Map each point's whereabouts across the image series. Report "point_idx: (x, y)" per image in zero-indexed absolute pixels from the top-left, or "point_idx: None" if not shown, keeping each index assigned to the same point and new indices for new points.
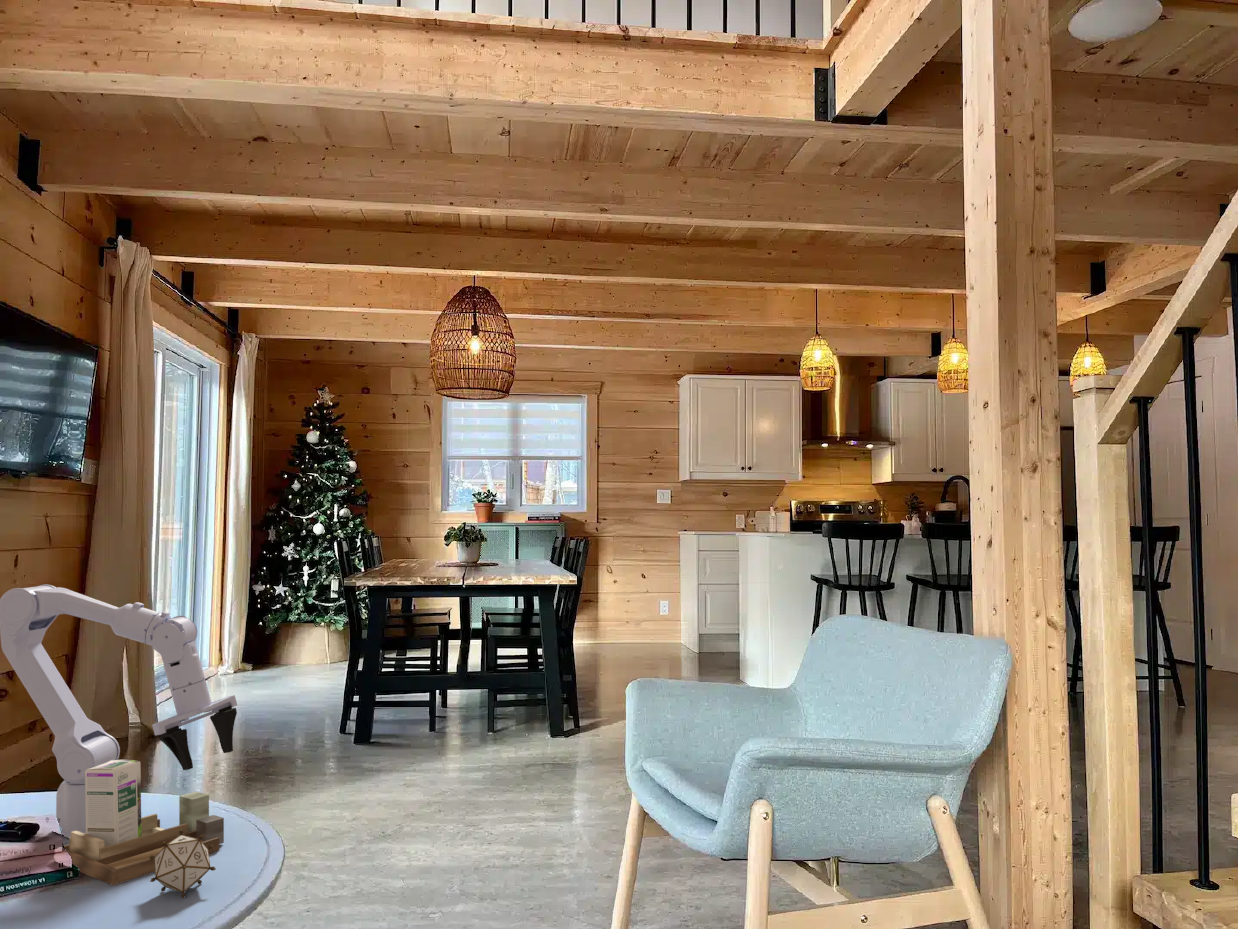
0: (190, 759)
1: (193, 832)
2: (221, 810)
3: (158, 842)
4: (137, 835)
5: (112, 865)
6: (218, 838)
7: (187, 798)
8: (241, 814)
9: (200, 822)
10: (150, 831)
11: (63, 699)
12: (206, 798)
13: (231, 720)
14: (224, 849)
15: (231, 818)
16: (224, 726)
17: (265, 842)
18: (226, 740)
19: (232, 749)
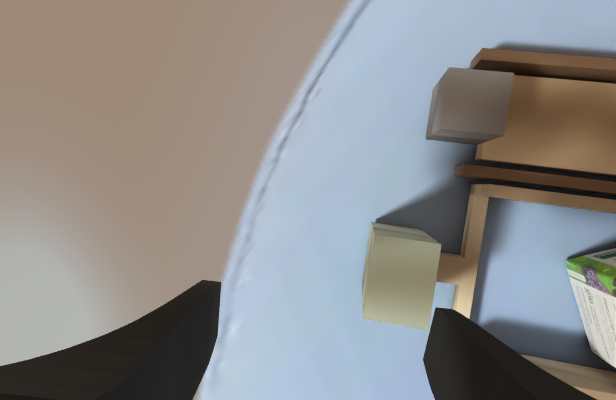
0: (466, 325)
1: (477, 165)
2: (231, 339)
3: (591, 182)
4: (613, 265)
5: None
6: (484, 48)
7: (436, 276)
8: (233, 259)
9: (507, 109)
10: None
11: None
12: (383, 234)
13: (79, 362)
14: (456, 58)
15: (268, 256)
16: (155, 383)
17: (370, 4)
18: (196, 327)
19: (201, 281)
